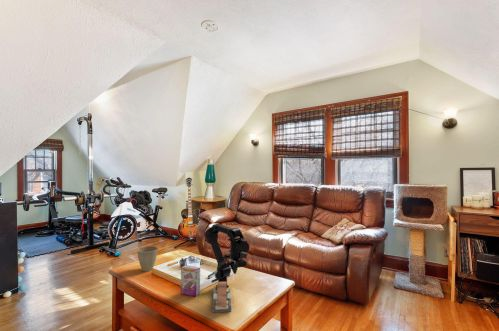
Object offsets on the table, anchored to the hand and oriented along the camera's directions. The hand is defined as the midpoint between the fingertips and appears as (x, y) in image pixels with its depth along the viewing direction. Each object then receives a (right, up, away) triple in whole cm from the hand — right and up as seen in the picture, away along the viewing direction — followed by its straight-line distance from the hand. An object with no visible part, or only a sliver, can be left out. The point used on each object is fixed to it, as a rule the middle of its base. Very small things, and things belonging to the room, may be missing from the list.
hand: (234, 273), depth 160 cm
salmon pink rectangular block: (-6, -10, -19) cm, 22 cm away
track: (-7, -12, -11) cm, 18 cm away
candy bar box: (-27, -12, -1) cm, 30 cm away
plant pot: (-69, -13, +37) cm, 79 cm away
